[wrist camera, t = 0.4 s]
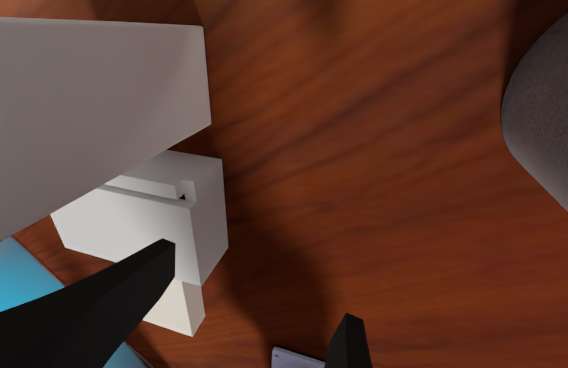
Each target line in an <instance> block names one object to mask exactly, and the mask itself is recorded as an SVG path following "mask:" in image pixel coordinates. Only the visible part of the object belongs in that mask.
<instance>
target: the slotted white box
mask: <svg viewBox="0 0 568 368" xmlns="http://www.w3.org/2000/svg"><path fill="white" fill-rule="evenodd" d="M183 194H185V200H183V199H179V198H180V197H181V196H182V195H183ZM50 215H51V217H52V219H53V222H54V224H55V226H56V228H57V230H58V233H59V235H60V237H61V239H62V242H63V244H64V246H65V248H69V249H72V250H76V251H79V252H83V253H86V254H90V255H93V256H96V257H100V258H103V259H107V260H110V261H114V262H119V261H121V260H122V259H124V258H126V257H128V256H130V255H132V254H134V253H136V252H137V251H139V250H141V249H143V248H145V247H147V246H148V245H150V244H152V243H154V242H156V241H158V240H160V239H162V238H164V239H166V240H168V241H171V242H173V243H176V250H175V277H174V279H176V280H179V281H183V282H186V283H190V284H193V285H197V286H200V287H201V286H202V285H203V283H204V282H205V280H206V279H207V278H208V276H209V275H210V273H211V272H212V270H213V269H214V268H215V266H216V265H217V263H218V262H219V260H220V259H221V257H222V256H223V255H224V253H225V252H226V250H227V249H228V235H227V222H226V208H225V195H224V182H223V169H222V159H218V158H212V157H206V156H200V155H194V154H188V153H183V152H177V151H171V150H164V151H162V152H161V153H159V154H157V155H155V156H153V157H152V158H150V159H148V160H146V161H145V162H143V163H141V164H139V165H137V166H136V167H134V168H132V169H130V170H128V171H127V172H125V173H123V174H121V175H119V176H118V177H116V178H114V179H112V180H110V181H109V182H107V183H105V184H103V185H101V186H100V187H98V188H96V189H94V190H92V191H91V192H89V193H87V194H85V195H83V196H82V197H80V198H78V199H76V200H74V201H73V202H71V203H69V204H67V205H65V206H64V207H62V208H60V209H58V210H57V211H55V212H53V213H51V214H50Z"/></svg>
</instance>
